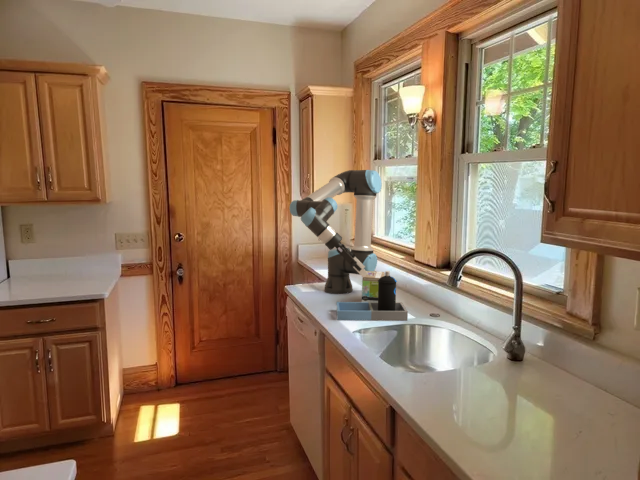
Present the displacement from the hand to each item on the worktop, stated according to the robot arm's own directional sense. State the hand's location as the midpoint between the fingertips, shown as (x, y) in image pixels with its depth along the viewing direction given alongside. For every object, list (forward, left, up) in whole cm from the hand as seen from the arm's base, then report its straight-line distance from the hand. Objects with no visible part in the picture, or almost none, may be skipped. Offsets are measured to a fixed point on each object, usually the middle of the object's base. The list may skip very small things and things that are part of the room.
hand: (364, 272), depth 190 cm
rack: (0, +3, -20) cm, 20 cm away
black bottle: (0, +10, -20) cm, 22 cm away
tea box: (-19, +6, -20) cm, 28 cm away
